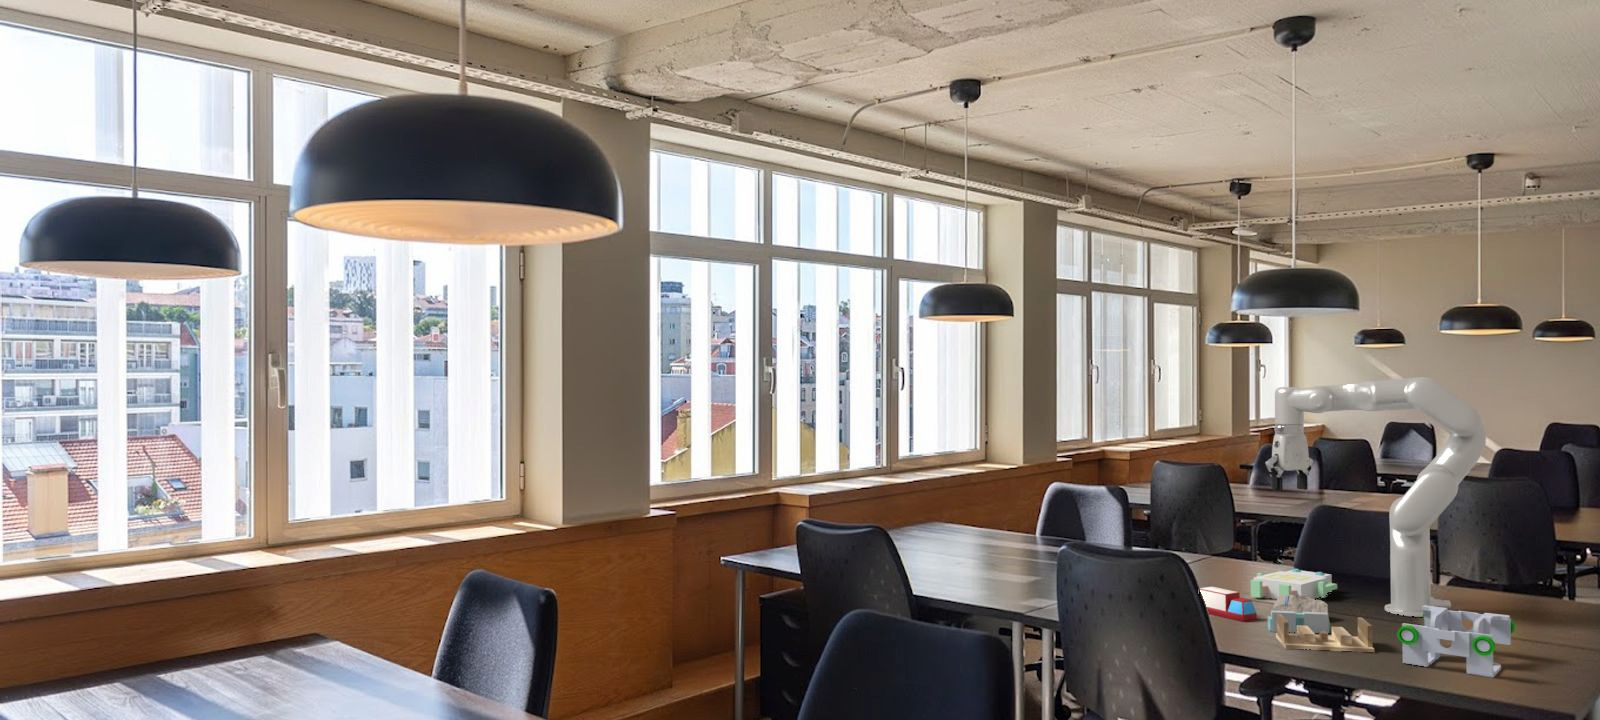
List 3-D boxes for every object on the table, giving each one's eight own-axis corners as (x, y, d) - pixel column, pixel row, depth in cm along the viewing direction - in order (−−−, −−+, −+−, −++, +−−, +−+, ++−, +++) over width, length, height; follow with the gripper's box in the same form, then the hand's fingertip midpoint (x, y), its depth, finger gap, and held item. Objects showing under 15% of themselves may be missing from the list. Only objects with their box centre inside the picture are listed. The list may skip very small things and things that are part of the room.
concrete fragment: (1324, 624, 288) (1324, 601, 288) (1270, 616, 298) (1270, 594, 298) (1334, 620, 293) (1334, 597, 293) (1281, 612, 303) (1281, 590, 303)
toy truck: (1243, 622, 291) (1243, 597, 291) (1198, 612, 304) (1198, 588, 304) (1257, 620, 294) (1257, 595, 294) (1212, 610, 307) (1211, 586, 307)
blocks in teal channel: (1326, 630, 281) (1326, 611, 281) (1330, 634, 277) (1329, 614, 277) (1267, 628, 284) (1267, 608, 284) (1270, 631, 280) (1270, 612, 280)
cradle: (1360, 640, 270) (1360, 616, 270) (1374, 653, 258) (1373, 627, 258) (1276, 637, 275) (1275, 613, 275) (1285, 648, 263) (1285, 623, 263)
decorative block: (1280, 565, 340) (1346, 574, 324) (1280, 586, 340) (1346, 595, 324) (1236, 575, 324) (1303, 585, 308) (1236, 597, 324) (1303, 608, 308)
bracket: (1515, 657, 254) (1515, 613, 254) (1494, 680, 235) (1493, 633, 235) (1424, 644, 266) (1424, 603, 266) (1397, 665, 248) (1396, 621, 248)
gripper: (1277, 431, 308) (1277, 493, 308) (1322, 430, 315) (1322, 489, 314) (1256, 430, 315) (1256, 490, 314) (1300, 428, 321) (1301, 487, 321)
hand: (1289, 490), depth 314 cm, fingers open, 9 cm apart
